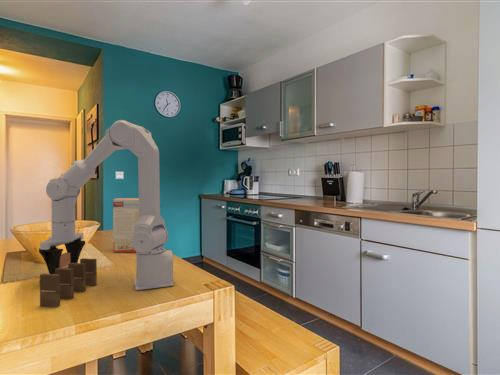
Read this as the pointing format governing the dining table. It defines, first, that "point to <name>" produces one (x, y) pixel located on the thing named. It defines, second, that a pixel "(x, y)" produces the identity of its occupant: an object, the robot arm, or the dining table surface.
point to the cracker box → (124, 223)
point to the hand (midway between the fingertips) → (63, 269)
